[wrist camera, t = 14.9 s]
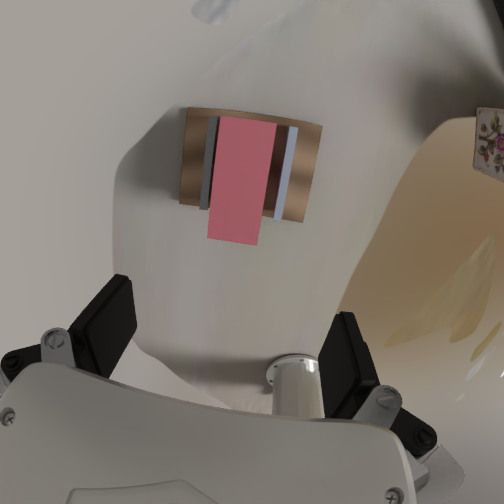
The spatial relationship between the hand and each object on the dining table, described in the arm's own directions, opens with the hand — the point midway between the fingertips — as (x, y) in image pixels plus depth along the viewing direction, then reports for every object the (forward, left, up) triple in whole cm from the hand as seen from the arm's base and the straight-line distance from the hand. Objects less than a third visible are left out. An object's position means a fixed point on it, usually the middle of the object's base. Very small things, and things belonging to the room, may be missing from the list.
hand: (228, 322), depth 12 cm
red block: (+2, +2, -28) cm, 28 cm away
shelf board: (+3, +2, -29) cm, 29 cm away
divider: (+3, -3, -28) cm, 28 cm away
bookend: (+3, +6, -28) cm, 28 cm away
